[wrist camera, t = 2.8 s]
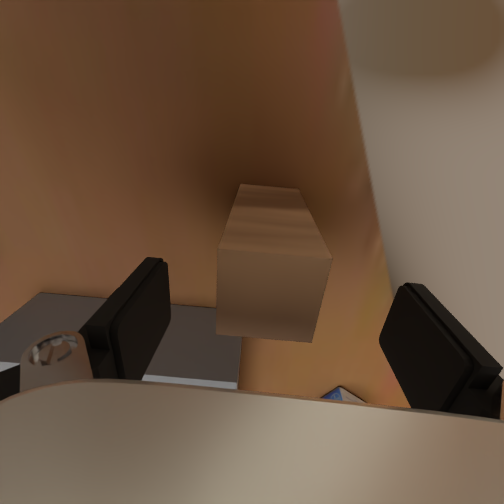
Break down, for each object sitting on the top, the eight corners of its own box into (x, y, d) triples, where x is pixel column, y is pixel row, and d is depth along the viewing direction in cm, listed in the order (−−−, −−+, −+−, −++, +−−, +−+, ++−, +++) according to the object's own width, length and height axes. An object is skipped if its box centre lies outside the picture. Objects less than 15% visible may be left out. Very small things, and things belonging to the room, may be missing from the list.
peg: (240, 183, 18) (217, 248, 9) (298, 188, 18) (332, 258, 9) (237, 237, 20) (215, 334, 11) (290, 241, 20) (311, 343, 11)
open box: (39, 292, 23) (-44, 357, 17) (244, 310, 23) (237, 382, 17) (83, 415, 31) (39, 489, 25) (234, 429, 31) (227, 506, 25)
